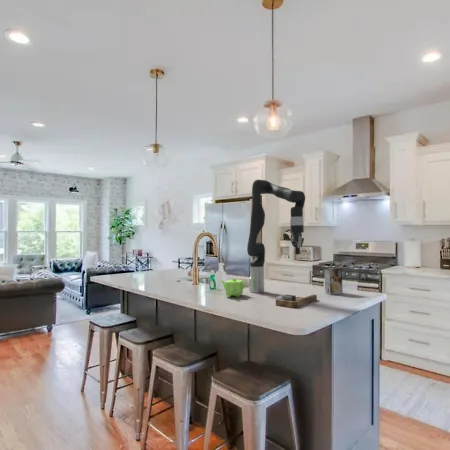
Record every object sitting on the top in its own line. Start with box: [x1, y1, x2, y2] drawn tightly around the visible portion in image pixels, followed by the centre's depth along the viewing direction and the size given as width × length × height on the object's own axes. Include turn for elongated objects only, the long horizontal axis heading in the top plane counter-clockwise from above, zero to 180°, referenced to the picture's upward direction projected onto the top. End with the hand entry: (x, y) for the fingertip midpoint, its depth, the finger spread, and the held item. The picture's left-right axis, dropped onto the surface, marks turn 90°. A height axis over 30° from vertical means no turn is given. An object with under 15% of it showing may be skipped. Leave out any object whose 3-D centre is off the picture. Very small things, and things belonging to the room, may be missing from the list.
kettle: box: [219, 277, 248, 298], centre depth 216 cm, size 15×14×11 cm
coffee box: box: [323, 267, 343, 296], centre depth 218 cm, size 9×6×16 cm
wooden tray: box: [275, 294, 318, 309], centre depth 192 cm, size 12×26×3 cm, turn 140°
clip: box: [281, 294, 297, 301], centre depth 189 cm, size 6×5×4 cm
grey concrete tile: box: [274, 294, 283, 300], centre depth 206 cm, size 10×8×1 cm
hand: (297, 254), depth 199 cm, fingers closed
